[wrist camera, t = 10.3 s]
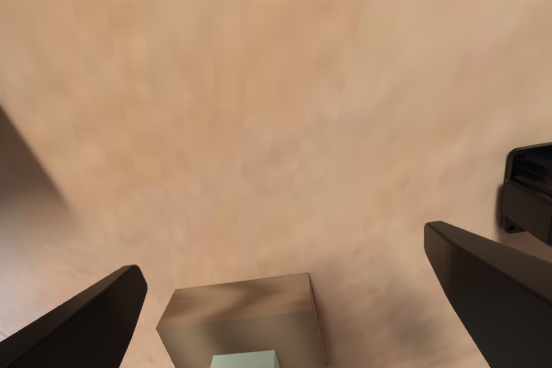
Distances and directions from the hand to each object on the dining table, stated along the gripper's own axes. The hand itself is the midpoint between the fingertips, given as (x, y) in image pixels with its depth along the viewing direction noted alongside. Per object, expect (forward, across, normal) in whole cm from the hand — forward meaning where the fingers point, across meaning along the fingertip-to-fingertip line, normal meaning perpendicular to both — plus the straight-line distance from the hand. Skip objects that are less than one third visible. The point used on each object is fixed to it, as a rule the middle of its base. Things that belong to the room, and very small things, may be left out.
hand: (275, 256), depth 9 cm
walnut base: (+12, +6, +17) cm, 22 cm away
